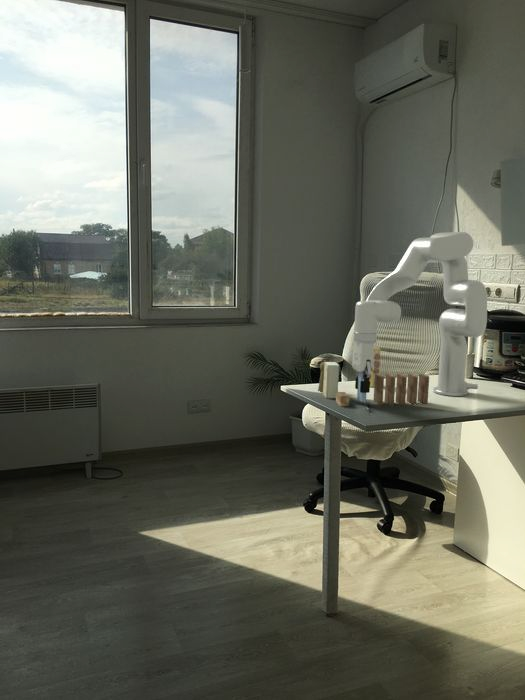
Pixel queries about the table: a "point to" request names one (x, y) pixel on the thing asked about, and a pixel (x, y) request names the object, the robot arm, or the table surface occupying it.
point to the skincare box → (330, 379)
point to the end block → (342, 399)
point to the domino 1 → (359, 395)
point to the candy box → (375, 365)
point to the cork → (321, 377)
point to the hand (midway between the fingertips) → (362, 390)
